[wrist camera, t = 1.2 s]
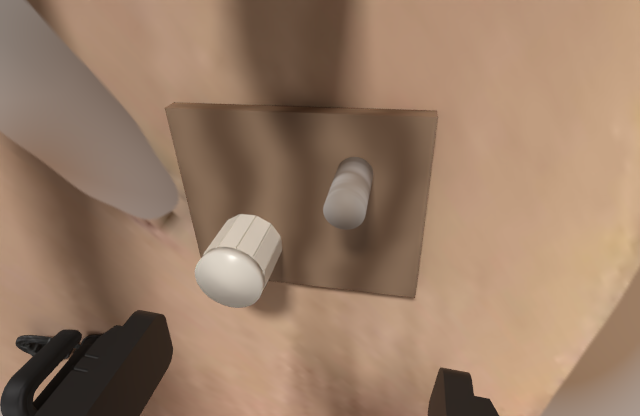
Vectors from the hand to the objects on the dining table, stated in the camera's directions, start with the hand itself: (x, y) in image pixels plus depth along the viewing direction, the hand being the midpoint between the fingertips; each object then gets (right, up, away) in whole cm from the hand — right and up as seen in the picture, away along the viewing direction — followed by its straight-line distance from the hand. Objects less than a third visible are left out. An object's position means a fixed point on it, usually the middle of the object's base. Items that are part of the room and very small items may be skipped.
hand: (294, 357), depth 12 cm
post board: (-1, +5, +26) cm, 26 cm away
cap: (-6, +1, +28) cm, 28 cm away
